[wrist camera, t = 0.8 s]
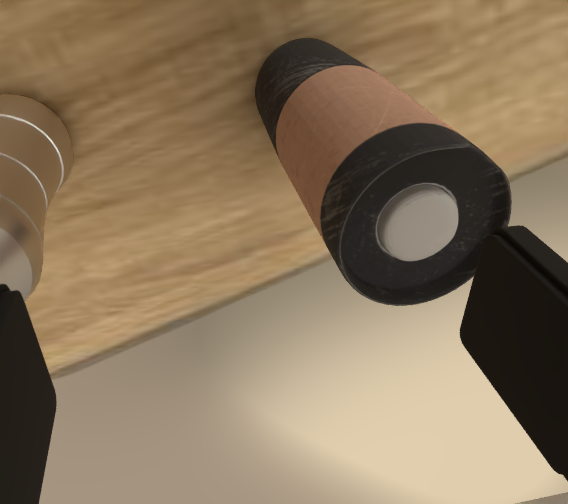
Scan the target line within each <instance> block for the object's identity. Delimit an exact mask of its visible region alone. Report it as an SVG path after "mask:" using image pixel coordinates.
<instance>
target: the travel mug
mask: <svg viewBox="0 0 568 504" xmlns="http://www.w3.org/2000/svg"><path fill="white" fill-rule="evenodd" d="M255 97H256V103H257V107H258V111H259V113H260V116H261V118H262V121H263V123H264V125H265V128H266V130H267V132H268V134H269V137H270V139H271V141H272V144H273V146H274V148H275V150H276V153H277V155H278V157H279V159H280V162H281V164H282V166H283V168H284V169H285V171H286V173H287V175H288V177H289V179H290V180H291V182H292V184H293V186H294V188H295V189H296V191H297V193H298V195H299V197H300V199H301V200H302V202H303V204H304V206H305V208H306V209H307V211H308V213H309V215H310V217H311V219H312V220H313V222H314V224H315V226H316V228H317V229H318V231H319V233H320V235H321V237H322V239H323V240H324V242H325V244H326V246H327V248H328V250H329V251H330V253H331V255H332V257H333V259H334V260H335V262H336V264H337V266H338V268H339V270H340V271H341V273H342V274H343V276H344V278H345V279H346V281H347V282H348V283H349V284H350V285H351V286H352V287H353V288H354V289H355V290H356V291H357V292H359V293H360V294H361V295H363V296H365V297H366V298H368V299H370V300H373V301H375V302H378V303H383V304H386V305H395V306H400V305H401V306H404V305H405V306H406V305H414V304H419V303H424V302H428V301H431V300H434V299H437V298H439V297H441V296H444V295H446V294H448V293H450V292H451V291H453V290H455V289H457V288H458V287H460V286H461V285H463V284H464V283H466V282H467V281H468V280H470V279H471V278H472V277H473V276H474V274H475V271H476V267H477V263H478V259H479V255H480V252H481V248H482V244H483V241H484V239H485V238H486V237H487V236H489V235H490V233H491V232H492V231H493V229H496V228H501V227H508V224H509V220H510V214H511V190H510V185H509V181H508V179H507V176H506V175H505V173H504V172H503V171H502V169H501V168H500V167H498V166H497V165H496V164H495V163H494V162H493V161H492V160H491V159H490V158H489V157H488V156H487V155H486V154H485V153H484V152H483V151H482V150H480V149H479V148H478V147H476V146H475V145H474V144H472V143H471V142H470V141H468V140H467V139H466V138H464V137H463V136H461V135H460V134H459V133H458V132H456V131H455V130H454V129H452V128H451V127H450V126H448V125H447V124H446V123H444V122H443V121H442V120H440V119H439V118H438V117H436V116H435V115H434V114H432V113H431V112H430V111H428V110H427V109H426V108H424V107H423V106H422V105H420V104H419V103H418V102H416V101H415V100H414V99H412V98H411V97H410V96H408V95H407V94H406V93H404V92H403V91H402V90H400V89H399V88H398V87H396V86H395V85H394V84H392V83H391V82H390V81H388V80H387V79H386V78H384V77H383V76H381V75H380V74H378V73H377V72H375V71H374V70H372V69H371V68H369V67H367V66H366V65H364V64H362V63H361V62H359V61H357V60H356V59H354V58H352V57H351V56H349V55H348V54H346V53H344V52H343V51H341V50H339V49H338V48H336V47H334V46H332V45H331V44H328V43H326V42H324V41H321V40H318V39H311V38H304V39H297V40H294V41H290V42H288V43H286V44H284V45H282V46H281V47H279V48H278V49H276V50H275V51H274V52H273V53H272V54H271V55H270V56H269V57H268V58H267V60H266V61H265V63H264V64H263V66H262V68H261V70H260V72H259V75H258V78H257V82H256V88H255Z"/></svg>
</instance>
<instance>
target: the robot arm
mask: <svg viewBox="0 0 568 504" xmlns="http://www.w3.org/2000/svg"><path fill="white" fill-rule="evenodd" d="M460 338H461V341H462V344H463V345H464V347H465V348H466V350H467V351H468V352H469V354H470V355H471V356H472V358H473V359H474V361H475V362H476V363H477V365H478V366H479V368H480V369H481V370H482V372H483V373H484V375H485V376H486V377H487V379H488V380H489V381H490V383H491V384H492V386H493V387H494V388H495V390H496V391H497V392H498V394H499V395H500V397H501V398H502V400H503V401H504V402H505V404H506V405H507V406H508V408H509V409H510V411H511V412H512V413H513V414H514V416H515V417H516V419H517V420H518V422H519V423H520V424H521V426H522V427H523V429H524V430H525V431H526V433H527V434H528V435H529V437H530V438H531V440H532V441H533V442H534V444H535V445H536V446H537V448H538V449H539V451H540V452H541V453H542V455H543V456H544V458H545V459H546V460H547V462H548V463H549V465H550V466H551V467H552V468H553V470H554V471H556V472H557V473H558V474H562V475H564V477H565V478H566V480H567V481H568V263H567V262H566V261H565V260H564V259H563V258H561V257H560V256H559V255H558V254H557V253H555V252H554V251H553V250H552V249H551V248H550V247H548V246H547V245H546V244H545V243H544V242H542V241H541V240H540V239H539V238H538V237H537V236H535V235H534V234H533V233H532V232H531V231H529V230H528V229H527V228H526V227H524V226H510V227H501V228H496V229H493V231H492V232H491V233H490V235H489V236H487V237H486V238H485V239H484V241H483V244H482V248H481V252H480V255H479V259H478V263H477V267H476V271H475V274H474V279H473V282H472V286H471V290H470V294H469V297H468V301H467V304H466V309H465V312H464V316H463V320H462V324H461V327H460ZM55 412H56V394H55V389H54V386H53V383H52V381H51V378H50V375H49V372H48V369H47V366H46V363H45V360H44V357H43V354H42V352H41V349H40V346H39V343H38V340H37V337H36V334H35V331H34V328H33V325H32V323H31V320H30V317H29V314H28V311H27V308H26V305H25V302H24V299H23V297H22V294H21V293H20V291H18V290H14V291H10V288H9V287H8V286H7V285H6V284H0V504H39V499H40V493H41V488H42V483H43V477H44V471H45V466H46V461H47V456H48V450H49V444H50V439H51V434H52V428H53V423H54V418H55ZM517 504H568V492H567V493H563V494H558V495H553V496H549V497H544V498H540V499H535V500H530V501H526V502H521V503H517Z"/></svg>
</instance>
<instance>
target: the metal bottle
mask: <svg viewBox="0 0 568 504" xmlns="http://www.w3.org/2000/svg"><path fill="white" fill-rule="evenodd" d="M72 164H73V151H72V145H71V140H70V136H69V134H68V131H67V129H66V127H65V126H64V124H63V123H62V121H61V120H60V119H59V118H58V116H57V115H56V114H55V113H54V112H53V111H51V110H50V109H49V108H48V107H46V106H45V105H43V104H41V103H40V102H38V101H36V100H34V99H31V98H28V97H25V96H21V95H15V94H2V95H0V284H6V285H7V286H8V287H9V288H10V291H14V290H18V291H20V293H21V294H22V297H23V299H24V301H25V300H26V299H27V298H28V297H29V296H30V295H31V294H32V293H33V292H34V290H35V288H36V286H37V285H38V283H39V280H40V276H41V272H42V265H43V240H44V224H45V219H46V214H47V209H48V206H49V204H50V202H51V200H52V198H53V197H54V195H55V194H56V193H57V192H58V191H59V190H60V188H61V187H62V186H63V184H64V183H65V181H66V180H67V178H68V176H69V174H70V172H71V168H72Z"/></svg>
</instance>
